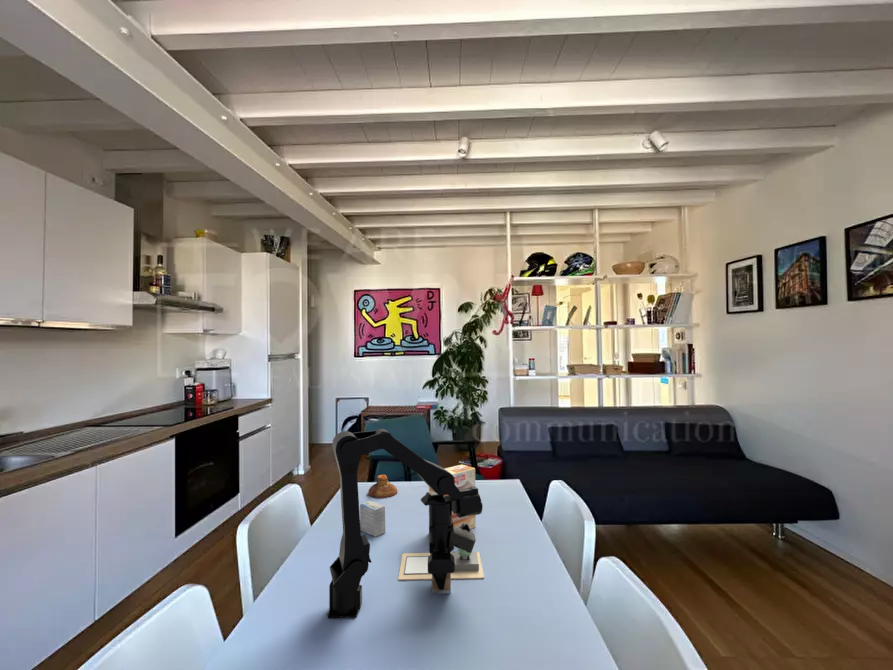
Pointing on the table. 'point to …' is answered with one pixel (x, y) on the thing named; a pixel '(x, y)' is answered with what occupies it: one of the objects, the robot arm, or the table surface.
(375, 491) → the bell
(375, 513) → the medicine box
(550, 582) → the table surface
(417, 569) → the tan rectangular board
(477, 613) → the table surface
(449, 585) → the block
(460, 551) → the button
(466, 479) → the coffeecake box
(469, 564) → the button housing
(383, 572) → the table surface
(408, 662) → the table surface
